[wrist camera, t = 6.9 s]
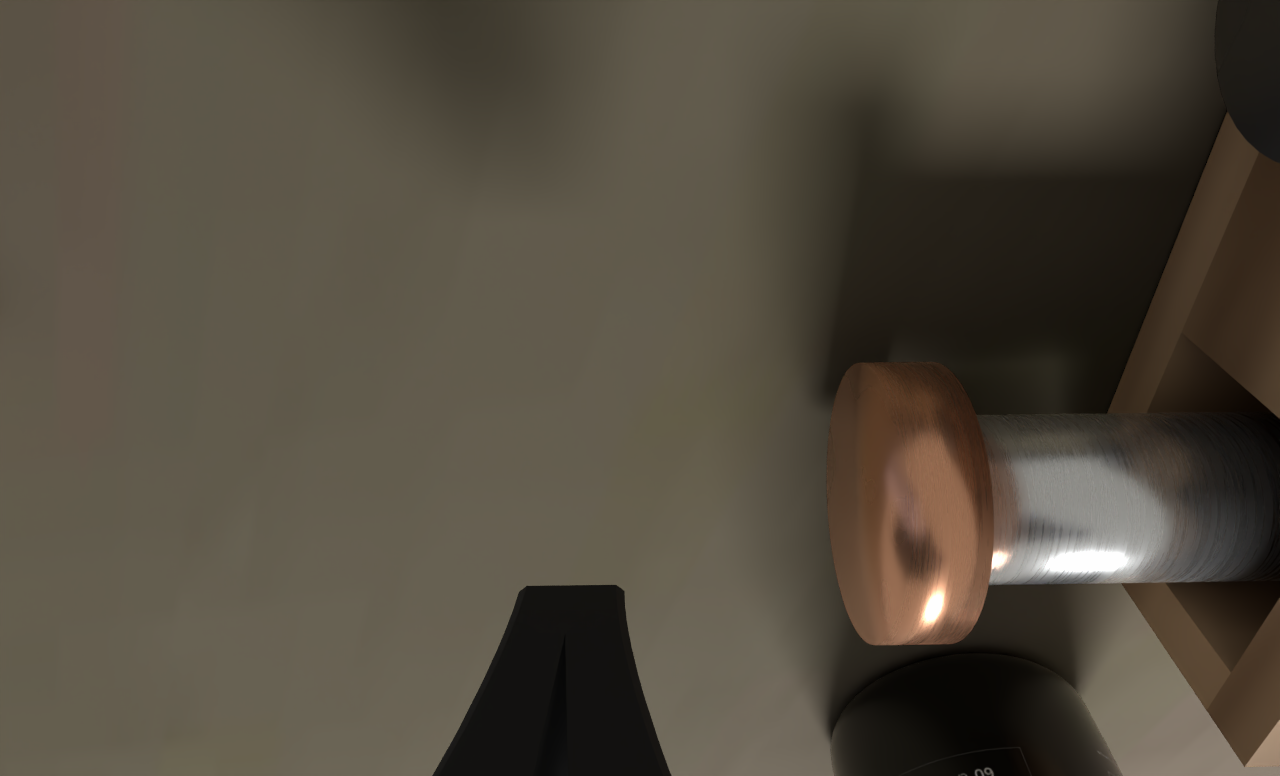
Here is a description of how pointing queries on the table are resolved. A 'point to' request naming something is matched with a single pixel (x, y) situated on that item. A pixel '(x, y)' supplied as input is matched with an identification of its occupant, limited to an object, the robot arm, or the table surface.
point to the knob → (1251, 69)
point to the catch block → (1219, 382)
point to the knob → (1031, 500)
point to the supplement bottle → (970, 723)
